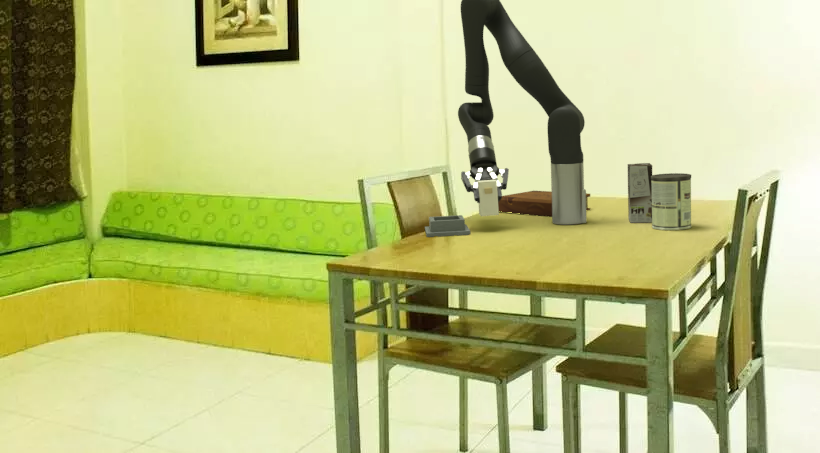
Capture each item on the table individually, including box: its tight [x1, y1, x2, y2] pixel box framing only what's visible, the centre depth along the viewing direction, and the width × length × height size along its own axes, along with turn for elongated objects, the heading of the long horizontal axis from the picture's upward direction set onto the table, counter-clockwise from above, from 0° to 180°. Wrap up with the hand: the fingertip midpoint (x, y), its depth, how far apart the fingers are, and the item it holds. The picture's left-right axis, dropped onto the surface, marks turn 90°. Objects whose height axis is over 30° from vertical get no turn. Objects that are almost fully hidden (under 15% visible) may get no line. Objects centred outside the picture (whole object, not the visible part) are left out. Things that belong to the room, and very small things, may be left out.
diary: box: [498, 190, 591, 218], centre depth 273 cm, size 23×19×6 cm
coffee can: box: [651, 172, 692, 231], centre depth 228 cm, size 10×10×14 cm
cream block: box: [477, 180, 500, 217], centre depth 238 cm, size 5×6×10 cm
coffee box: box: [627, 162, 653, 224], centre depth 243 cm, size 9×6×16 cm
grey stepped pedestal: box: [424, 214, 471, 238], centre depth 240 cm, size 12×13×4 cm
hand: (488, 200), depth 237 cm, fingers closed on cream block, 5 cm apart
